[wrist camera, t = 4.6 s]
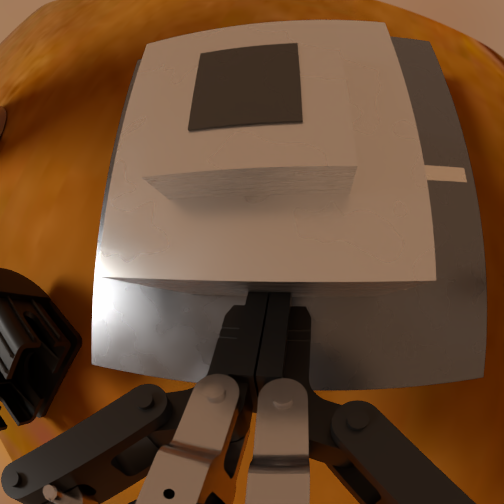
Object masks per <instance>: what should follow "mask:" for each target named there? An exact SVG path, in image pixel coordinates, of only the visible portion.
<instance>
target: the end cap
mask: <svg viewBox="0 0 504 504" xmlns="http://www.w3.org/2000/svg"><path fill="white" fill-rule="evenodd" d="M81 345H82V338H81V336H80V335H79V333H78V332H77V331H76V330H75V329H74V328H73V326H72V325H71V324H70V323H69V322H68V320H67V319H66V318H65V317H64V315H63V314H62V313H61V312H60V310H59V309H58V308H57V307H56V305H55V304H54V303H53V302H52V301H51V299H50V297H49V296H48V295H47V294H46V293H45V292H44V291H43V290H42V289H41V288H40V287H39V286H38V285H36V284H35V283H34V282H32V281H31V280H29V279H28V278H26V277H25V276H23V275H21V274H19V273H17V272H14V271H12V270H8V269H3V268H0V401H1V402H2V403H3V404H4V406H5V407H6V409H7V410H8V412H9V413H10V415H11V416H12V418H13V419H14V421H15V422H16V424H17V425H18V426H20V425H24V424H28V423H30V422H32V421H33V420H34V419H35V418H36V416H37V417H39V418H40V417H44V416H45V415H46V413H47V410H48V408H49V406H50V404H51V402H52V400H53V398H54V396H55V394H56V392H57V390H58V388H59V386H60V384H61V383H62V381H63V379H64V377H65V375H66V373H67V371H68V369H69V367H70V366H71V364H72V362H73V360H74V358H75V356H76V355H77V353H78V351H79V349H80V347H81ZM0 409H1V406H0ZM5 429H7V425H6V423H5V422H4V420H3V419H2V417H1V416H0V431H1V430H5Z"/></svg>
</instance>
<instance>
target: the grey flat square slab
mask: <svg viewBox="0 0 504 504" xmlns="http://www.w3.org/2000/svg"><path fill="white" fill-rule="evenodd" d="M390 38H391V41H392V43H393V46H394V49H395V52H396V55H397V58H398V61H399V64H400V67H401V70H402V74H403V77H404V80H405V84H406V87H407V91H408V94H409V98H410V102H411V105H412V109H413V113H414V117H415V122H416V126H417V130H418V135H419V140H420V144H421V149H422V155H423V160H424V165H425V171H426V177H427V184H428V191H429V198H430V206H431V214H432V223H433V234H434V246H435V262H436V281H433V282H429V283H426V284H422V285H419V286H415V287H412V288H408V289H404V290H401V291H397V292H393V293H389V294H386V295H382V296H378V297H292V306H306V308H307V310H308V312H309V314H310V315H311V346H310V369H309V383H310V386H311V388H312V390H367V389H386V388H401V387H413V386H423V385H432V384H441V383H449V382H456V381H463V380H470V379H476V378H482V377H483V376H484V366H485V353H486V334H487V286H486V266H485V253H484V243H483V234H482V226H481V218H480V211H479V205H478V199H477V193H476V188H475V183H474V178H473V173H472V168H471V164H470V160H469V155H468V151H467V147H466V143H465V140H464V136H463V132H462V129H461V125H460V122H459V119H458V115H457V112H456V109H455V106H454V103H453V100H452V97H451V94H450V91H449V89H448V86H447V83H446V80H445V78H444V75H443V73H442V70H441V68H440V65H439V63H438V60H437V58H436V55H435V53H434V51H433V49H432V46H431V44H430V42H429V41H422V40H415V39H407V38H398V37H390ZM141 60H142V59H140V60H138V61H137V64H136V67H135V70H134V73H133V76H132V80H131V83H130V86H129V90H128V93H127V96H126V100H125V104H124V107H123V111H122V115H121V119H120V123H119V127H118V131H117V135H116V139H115V144H114V148H113V153H112V157H111V162H110V167H109V172H108V178H107V183H106V189H105V194H104V201H103V207H102V214H101V220H100V228H99V236H98V244H97V253H96V264H95V275H94V289H93V307H92V364H93V365H97V366H101V367H106V368H111V369H116V370H121V371H126V372H131V373H136V374H142V375H148V376H154V377H160V378H166V379H173V380H180V381H188V382H196V383H198V382H199V381H200V380H201V379H202V378H204V377H206V375H207V373H208V370H209V367H210V364H211V360H212V357H213V354H214V350H215V347H216V344H217V340H218V338H219V334H220V330H221V329H222V324H223V320H224V317H225V315H226V313H227V312H228V311H229V310H230V309H231V308H232V307H233V305H245V303H246V299H247V296H230V295H202V294H188V293H182V292H176V291H171V290H165V289H160V288H154V287H149V286H143V285H138V284H133V283H128V282H123V281H118V280H113V279H108V278H103V277H98V272H99V262H100V252H101V243H102V235H103V227H104V220H105V213H106V206H107V200H108V194H109V188H110V182H111V177H112V172H113V167H114V162H115V157H116V152H117V148H118V143H119V139H120V134H121V130H122V126H123V122H124V118H125V114H126V110H127V107H128V103H129V99H130V96H131V92H132V89H133V85H134V82H135V79H136V76H137V72H138V69H139V66H140V63H141Z"/></svg>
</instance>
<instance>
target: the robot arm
mask: <svg viewBox="0 0 504 504" xmlns="http://www.w3.org/2000/svg"><path fill="white" fill-rule="evenodd" d="M5 121H6V110H5V109H4V108H3V107H1V106H0V136H1V134H2V131H3V128H4V125H5ZM310 346H311V315H310V314H309V312H308V310H307V308H306V306H292V293H291V292H248V295H247V299H246V303H245V305H233V307H232V308H231V309H230V310H229V311H228V312H227V313H226V315H225V317H224V320H223V324H222V329H221V330H220V334H219V338H218V340H217V344H216V347H215V350H214V354H213V357H212V360H211V364H210V367H209V370H208V373H207V375H206V377H204V378H202V379H201V380H200V381H199V382H198V383H197V384H196V385H195V387H193V388H191V389H188V390H184V391H177V392H170V393H165V392H164V391H163V390H162V389H161V388H160V387H159V386H156V385H153V384H144V385H140V386H138V387H136V388H134V389H133V390H131V391H130V392H128V393H126V394H125V395H123V396H122V397H120V398H119V399H117V400H115V401H114V402H112V403H111V404H109V405H108V406H106V407H104V408H103V409H101V410H100V411H98V412H96V413H95V414H93V415H92V416H90V417H88V418H87V419H85V420H83V421H82V422H80V423H78V424H77V425H75V426H74V427H72V428H70V429H69V430H67V431H65V432H64V433H62V434H60V435H59V436H57V437H55V438H53V439H52V440H50V441H48V442H47V443H45V444H43V445H42V446H40V447H38V448H36V449H35V450H33V451H31V452H29V453H28V454H26V455H24V456H22V457H20V458H19V459H17V460H15V461H13V462H12V463H10V464H8V466H6V467H5V469H4V470H3V473H2V477H1V482H2V487H3V489H4V491H5V493H6V494H7V495H8V496H10V497H11V498H13V499H15V500H17V501H19V502H21V503H23V504H101V503H103V502H104V501H106V500H108V499H110V498H111V497H113V496H115V495H117V494H118V493H120V492H122V491H123V490H125V489H127V488H128V487H130V486H131V485H133V484H135V483H136V482H138V481H140V480H141V479H143V478H144V477H146V476H147V477H146V480H145V482H144V484H143V487H142V489H141V491H140V494H139V496H138V499H137V500H135V501H132V502H130V503H128V504H233V501H234V497H235V492H236V480H237V476H238V472H239V469H240V465H241V462H242V458H243V455H244V451H245V448H246V444H247V441H248V437H249V433H250V423H251V417H252V412H253V413H257V418H256V429H255V441H254V452H253V459H252V461H251V463H250V466H249V472H248V481H247V491H246V500H245V504H309V494H310V466H309V458H311V459H314V460H317V461H320V462H324V463H325V464H326V465H327V466H328V468H329V469H330V470H331V471H332V472H333V473H334V475H335V476H336V477H337V478H338V479H339V480H340V482H341V483H342V484H343V485H344V486H345V487H346V488H347V490H348V491H349V492H350V493H351V494H352V495H353V496H354V497H355V499H356V500H357V501H358V502H359V503H360V504H476V503H475V502H474V501H473V500H471V499H470V498H469V497H468V496H467V495H466V494H465V493H464V492H463V491H462V490H461V489H460V488H459V487H458V486H456V485H455V484H454V483H453V482H452V481H451V480H450V479H449V478H448V477H447V476H446V475H445V474H444V473H443V472H442V471H441V470H440V469H439V468H437V467H436V466H435V465H434V464H433V463H432V462H431V461H430V460H429V459H428V458H427V457H426V456H425V455H424V454H423V453H422V452H421V451H420V450H419V449H418V448H417V447H416V446H415V445H414V444H413V443H411V442H410V441H409V440H408V439H407V438H406V437H405V436H404V435H403V434H402V433H401V432H400V431H399V430H398V429H397V428H396V427H395V426H394V425H393V424H392V423H391V422H390V421H389V420H388V419H387V418H386V417H385V416H384V415H383V414H382V413H381V412H380V411H379V410H378V409H377V408H376V407H375V406H373V405H372V404H370V403H368V402H365V401H350V402H347V403H345V404H343V405H339V404H336V403H333V402H330V401H327V400H324V399H322V398H320V397H319V396H318V395H316V393H315V392H314V391H313V390H312V388H311V386H310V383H309V369H310Z"/></svg>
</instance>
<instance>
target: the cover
mask: <svg viewBox="0 0 504 504" xmlns="http://www.w3.org/2000/svg"><path fill="white" fill-rule="evenodd" d="M98 277H103V278H108V279H113V280H118V281H123V282H128V283H133V284H138V285H143V286H149V287H154V288H160V289H165V290H171V291H176V292H182V293H188V294H202V295H230V296H247V295H248V292H291V293H292V297H378V296H382V295H386V294H389V293H393V292H397V291H401V290H404V289H408V288H412V287H415V286H419V285H422V284H426V283H429V282H433V281H436V262H435V246H434V234H433V223H432V214H431V206H430V198H429V191H428V184H427V177H426V171H425V165H424V160H423V155H422V149H421V144H420V140H419V135H418V130H417V126H416V122H415V117H414V113H413V109H412V105H411V102H410V98H409V94H408V91H407V87H406V84H405V80H404V77H403V74H402V70H401V67H400V64H399V61H398V58H397V55H396V52H395V49H394V46H393V43H392V41H391V38H390V35H389V32H388V30H387V27H386V25H385V23H383V22H370V21H353V20H297V21H279V22H266V23H256V24H247V25H239V26H232V27H225V28H218V29H212V30H207V31H201V32H196V33H191V34H186V35H182V36H177V37H173V38H169V39H164V40H160V41H157V42H153V43H149V44H147V45H146V48H145V51H144V54H143V57H142V60H141V63H140V66H139V69H138V72H137V76H136V79H135V82H134V85H133V89H132V92H131V96H130V99H129V103H128V107H127V110H126V114H125V118H124V122H123V126H122V130H121V134H120V139H119V143H118V148H117V152H116V157H115V162H114V167H113V172H112V177H111V182H110V188H109V194H108V200H107V206H106V213H105V220H104V227H103V235H102V243H101V252H100V262H99V272H98Z"/></svg>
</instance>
